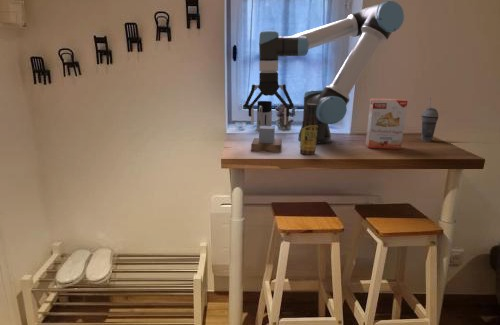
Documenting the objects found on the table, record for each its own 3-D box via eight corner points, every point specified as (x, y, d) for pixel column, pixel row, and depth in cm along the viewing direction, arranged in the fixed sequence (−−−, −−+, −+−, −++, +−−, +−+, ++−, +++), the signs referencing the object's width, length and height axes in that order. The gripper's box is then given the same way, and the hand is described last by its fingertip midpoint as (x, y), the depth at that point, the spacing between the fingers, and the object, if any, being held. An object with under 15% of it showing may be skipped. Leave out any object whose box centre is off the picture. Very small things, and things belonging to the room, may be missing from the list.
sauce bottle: (303, 155, 145) (306, 105, 139) (297, 152, 150) (299, 103, 145) (318, 154, 146) (322, 104, 141) (311, 151, 152) (314, 102, 147)
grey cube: (274, 140, 158) (274, 126, 156) (273, 143, 152) (273, 128, 150) (260, 139, 158) (260, 125, 157) (258, 142, 153) (259, 128, 151)
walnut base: (281, 145, 161) (281, 139, 160) (280, 152, 150) (280, 145, 149) (254, 144, 162) (254, 138, 162) (251, 151, 151) (251, 144, 150)
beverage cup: (430, 143, 170) (437, 99, 164) (415, 140, 175) (421, 97, 170) (437, 141, 174) (444, 98, 169) (422, 138, 180) (428, 97, 174)
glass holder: (274, 129, 199) (274, 101, 195) (267, 133, 186) (267, 104, 182) (258, 128, 202) (258, 100, 197) (250, 132, 189) (251, 103, 184)
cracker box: (368, 148, 158) (373, 99, 152) (365, 145, 164) (369, 97, 158) (401, 149, 157) (408, 100, 151) (397, 146, 163) (403, 98, 157)
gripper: (300, 71, 150) (298, 123, 155) (239, 71, 152) (240, 122, 158) (300, 72, 142) (299, 126, 148) (236, 72, 145) (237, 125, 151)
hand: (268, 124), depth 153 cm, fingers open, 13 cm apart
